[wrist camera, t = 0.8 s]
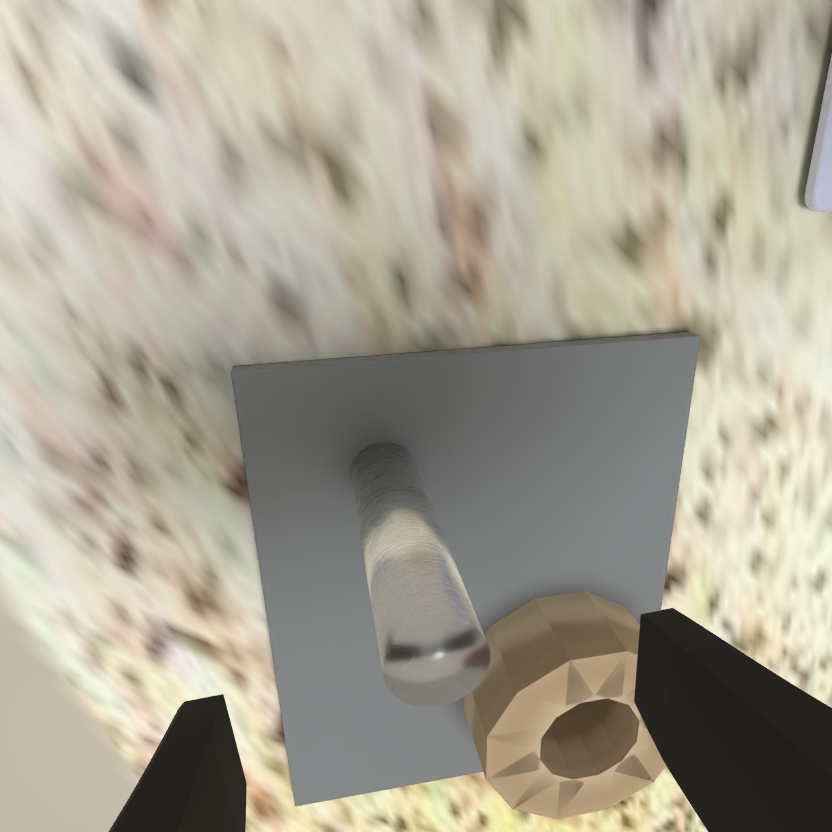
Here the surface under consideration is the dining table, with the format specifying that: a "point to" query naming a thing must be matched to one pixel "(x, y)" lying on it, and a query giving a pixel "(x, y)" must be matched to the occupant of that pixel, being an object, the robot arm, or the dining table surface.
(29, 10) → the dining table surface
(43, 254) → the dining table surface
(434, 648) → the steel peg
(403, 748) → the mat
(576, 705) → the maple bead
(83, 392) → the dining table surface
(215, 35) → the dining table surface
